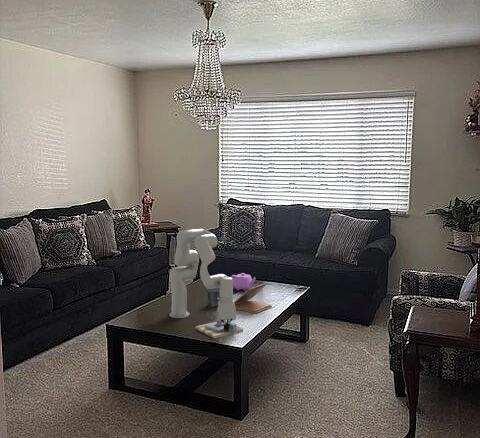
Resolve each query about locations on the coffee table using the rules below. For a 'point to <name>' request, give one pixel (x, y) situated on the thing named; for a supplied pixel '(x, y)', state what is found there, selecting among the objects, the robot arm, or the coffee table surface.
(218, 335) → the post fixture
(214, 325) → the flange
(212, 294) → the small box
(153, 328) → the coffee table surface
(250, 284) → the teapot
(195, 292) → the coffee table surface
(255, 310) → the case
